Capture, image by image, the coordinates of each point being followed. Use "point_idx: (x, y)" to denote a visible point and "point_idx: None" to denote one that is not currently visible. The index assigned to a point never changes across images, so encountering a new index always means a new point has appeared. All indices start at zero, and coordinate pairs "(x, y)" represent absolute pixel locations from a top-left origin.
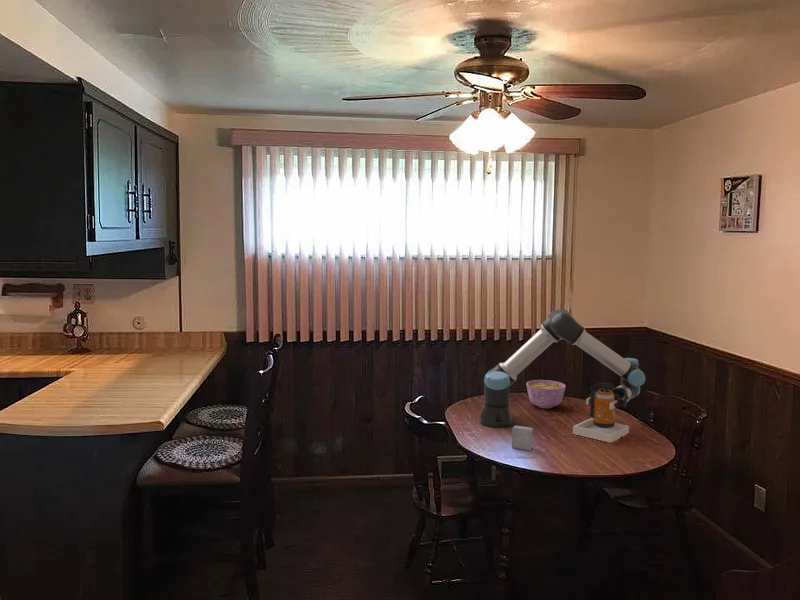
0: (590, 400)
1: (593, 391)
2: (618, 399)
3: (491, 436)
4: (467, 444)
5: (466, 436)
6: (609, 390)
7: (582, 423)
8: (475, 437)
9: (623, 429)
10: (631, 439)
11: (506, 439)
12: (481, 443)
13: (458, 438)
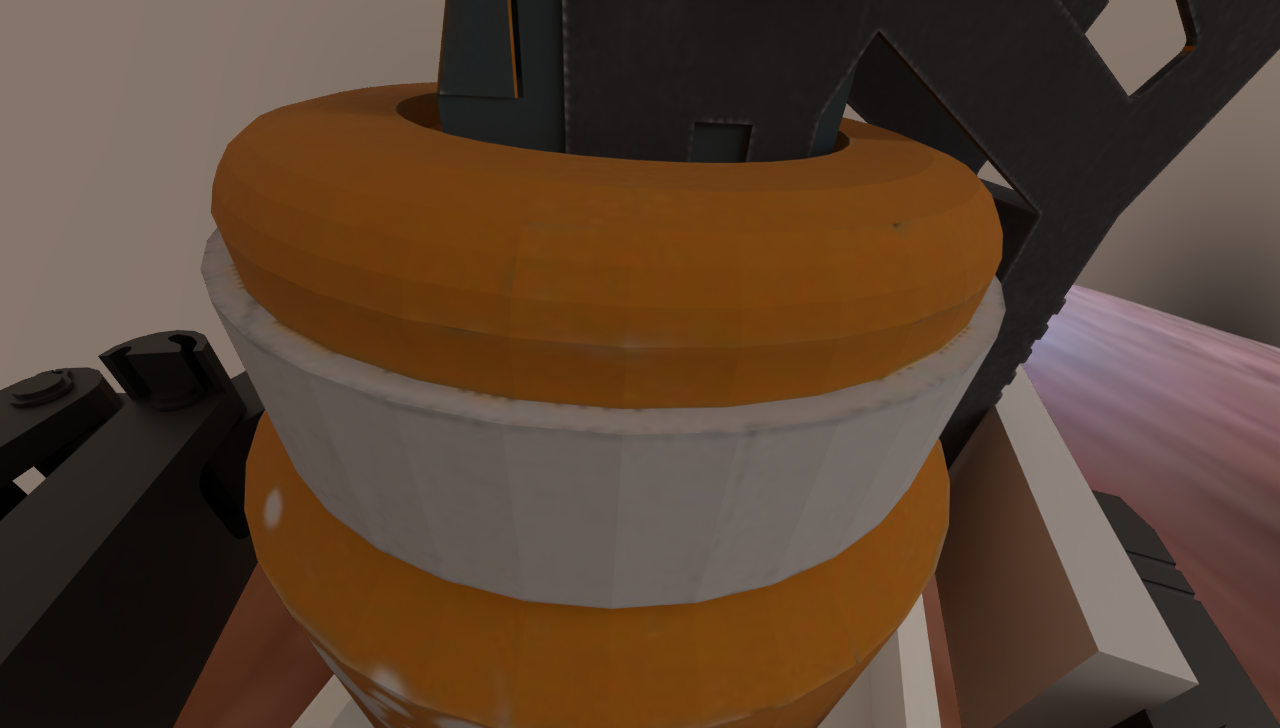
0: (960, 454)
1: (940, 125)
2: (204, 337)
3: (1196, 387)
4: (1120, 302)
5: (1256, 359)
6: (365, 127)
7: (904, 724)
8: (1216, 359)
9: (334, 681)
10: (285, 691)
11: (1096, 374)
12: (1102, 318)
13: (1234, 335)
